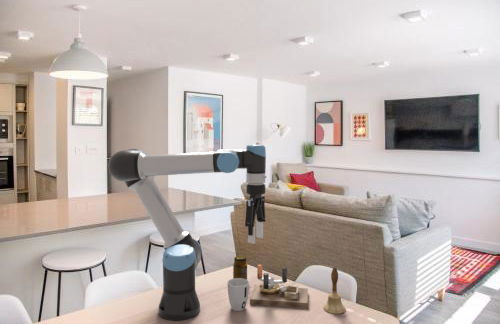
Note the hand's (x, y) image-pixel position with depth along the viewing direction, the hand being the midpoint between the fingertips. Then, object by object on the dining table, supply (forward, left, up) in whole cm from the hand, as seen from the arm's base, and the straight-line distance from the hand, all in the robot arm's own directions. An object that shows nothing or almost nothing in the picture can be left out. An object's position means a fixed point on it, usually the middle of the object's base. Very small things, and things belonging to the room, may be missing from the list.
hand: (255, 240), depth 156 cm
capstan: (+7, 0, -21) cm, 22 cm away
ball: (+11, 0, -21) cm, 24 cm away
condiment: (-8, +11, -24) cm, 27 cm away
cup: (-5, -11, -24) cm, 26 cm away
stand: (+10, 0, -23) cm, 25 cm away
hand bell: (+31, -6, -24) cm, 39 cm away
